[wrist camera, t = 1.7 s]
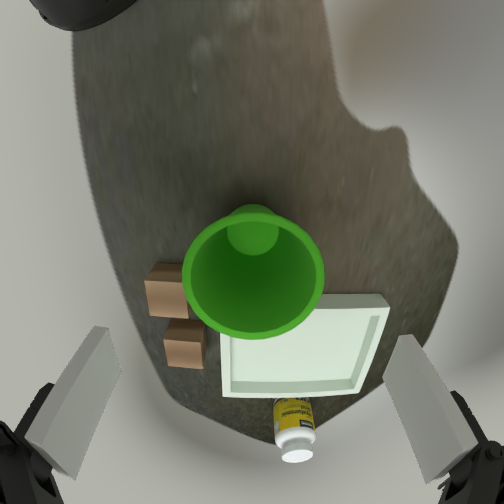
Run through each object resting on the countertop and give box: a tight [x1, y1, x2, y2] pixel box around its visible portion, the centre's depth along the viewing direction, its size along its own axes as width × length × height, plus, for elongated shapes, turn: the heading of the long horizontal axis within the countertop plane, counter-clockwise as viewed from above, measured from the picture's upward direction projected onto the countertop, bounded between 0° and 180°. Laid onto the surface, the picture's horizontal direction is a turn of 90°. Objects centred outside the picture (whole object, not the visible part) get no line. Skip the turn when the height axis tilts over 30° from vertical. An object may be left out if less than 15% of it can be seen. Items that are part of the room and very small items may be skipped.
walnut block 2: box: [163, 318, 207, 369], centre depth 31 cm, size 4×4×4 cm
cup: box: [182, 204, 325, 340], centre depth 23 cm, size 9×9×11 cm
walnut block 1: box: [145, 263, 192, 319], centre depth 28 cm, size 4×4×4 cm
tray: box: [220, 294, 390, 398], centre depth 32 cm, size 14×18×3 cm
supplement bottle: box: [273, 397, 316, 463], centre depth 33 cm, size 5×5×10 cm
